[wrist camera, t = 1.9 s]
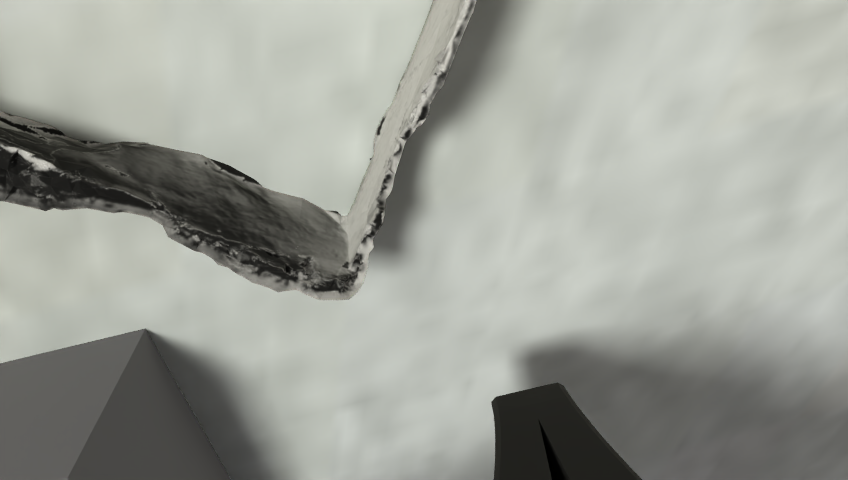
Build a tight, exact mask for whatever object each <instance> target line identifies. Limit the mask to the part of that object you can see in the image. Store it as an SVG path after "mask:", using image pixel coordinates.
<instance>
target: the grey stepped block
mask: <svg viewBox="0 0 848 480" xmlns="http://www.w3.org/2000/svg"><path fill="white" fill-rule="evenodd" d="M0 480H231V479H230V477H229V475H228V474H227V472H226V470H225V468H224V467H223V465H222V463H221V461H220V460H219V458H218V456H217V454H216V452H215V451H214V449H213V447H212V445H211V444H210V442H209V440H208V438H207V437H206V435H205V433H204V431H203V429H202V428H201V426H200V424H199V422H198V421H197V419H196V417H195V415H194V414H193V412H192V410H191V408H190V407H189V405H188V403H187V401H186V399H185V398H184V396H183V394H182V392H181V391H180V389H179V387H178V385H177V384H176V382H175V380H174V378H173V376H172V375H171V373H170V371H169V369H168V368H167V366H166V364H165V362H164V361H163V359H162V357H161V355H160V353H159V352H158V350H157V348H156V346H155V345H154V343H153V341H152V339H151V338H150V336H149V334H148V332H147V331H146V329H142V330H138V331H133V332H129V333H125V334H121V335H117V336H113V337H109V338H104V339H100V340H96V341H92V342H88V343H84V344H79V345H75V346H71V347H67V348H63V349H59V350H54V351H50V352H46V353H42V354H38V355H34V356H29V357H25V358H21V359H17V360H13V361H9V362H5V363H0Z"/></svg>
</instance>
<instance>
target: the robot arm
mask: <svg viewBox="0 0 848 480" xmlns="http://www.w3.org/2000/svg"><path fill="white" fill-rule="evenodd" d="M491 403H492V408H493V413H494V421H495V470H494V480H642V479H641V478H640V477H639V476H638V475H637V474H636V473H635V472H634V471H633V470H632V469H631V468H630V467H629V466H628V464H627V463H626V462H625V461H624V460H623V459H622V458H621V457H620V456H619V455H618V454H617V453H616V452H615V450H614V449H613V448H612V447H611V446H610V445H609V444H608V443H607V442H606V440H605V439H604V438H603V437H602V436H601V435H600V434H599V432H598V431H597V430H596V429H595V428H594V426H593V425H592V424H591V423H590V421H589V420H588V419H587V418H586V417H585V415H584V414H583V413H582V411H581V410H580V409H579V407H578V406H577V405H576V403H575V402H574V401H573V399H572V398H571V396H570V395H569V394H568V392H567V391H566V389H565V387H564V386H563V385H561V384H559V383H554V384H549V385H545V386H541V387H536V388H532V389H528V390H523V391H519V392H515V393H510V394H506V395H502V396H497V397H496V398H495V399H494V400H493V401H492V402H491Z"/></svg>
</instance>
